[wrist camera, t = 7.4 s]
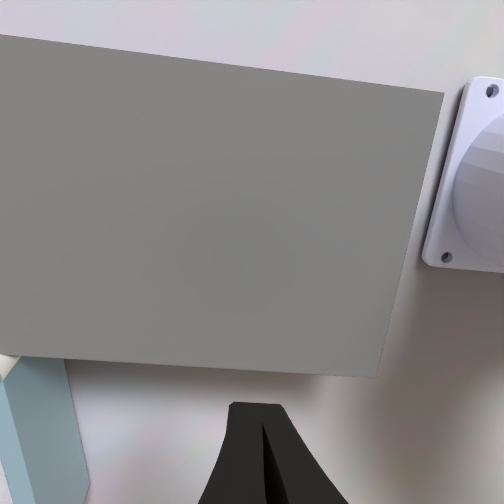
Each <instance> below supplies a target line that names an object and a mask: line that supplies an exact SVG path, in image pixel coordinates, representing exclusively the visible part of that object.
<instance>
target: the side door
mask: <svg viewBox="0 0 504 504" xmlns="http://www.w3.org/2000/svg"><path fill="white" fill-rule="evenodd" d="M0 459H1V463H2V466H3V470H4V473H5V477H6V480H7V483H8V487H9V490H10V494H11V497H12V501H13V504H84V501H85V498H86V495H87V491H88V488H89V485H90V481H89V476H88V471H87V467H86V462H85V457H84V453H83V448H82V443H81V439H80V434H79V429H78V425H77V420H76V415H75V410H74V406H73V401H72V396H71V392H70V387H69V382H68V378H67V373H66V368H65V364H64V359H63V358H48V357H33V356H17V355H1V354H0Z"/></svg>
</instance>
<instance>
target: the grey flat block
mask: <svg viewBox="0 0 504 504" xmlns="http://www.w3.org/2000/svg"><path fill="white" fill-rule="evenodd" d="M443 97H444V93H443V92H435V91H428V90H420V89H412V88H405V87H397V86H390V85H382V84H374V83H367V82H359V81H352V80H344V79H336V78H329V77H321V76H313V75H306V74H298V73H291V72H283V71H275V70H268V69H260V68H253V67H245V66H237V65H230V64H222V63H214V62H207V61H199V60H192V59H184V58H176V57H169V56H161V55H154V54H146V53H138V52H131V51H123V50H115V49H108V48H100V47H93V46H85V45H77V44H70V43H62V42H54V41H47V40H39V39H32V38H24V37H16V36H9V35H1V34H0V354H1V355H17V356H33V357H48V358H64V359H80V360H96V361H112V362H128V363H144V364H159V365H175V366H191V367H207V368H223V369H239V370H254V371H270V372H286V373H302V374H318V375H334V376H350V377H365V378H376V374H377V370H378V366H379V362H380V358H381V354H382V350H383V345H384V341H385V337H386V333H387V329H388V325H389V321H390V316H391V312H392V308H393V304H394V300H395V296H396V292H397V288H398V283H399V279H400V275H401V271H402V267H403V263H404V259H405V254H406V250H407V246H408V242H409V238H410V234H411V230H412V225H413V221H414V217H415V213H416V209H417V205H418V201H419V197H420V192H421V188H422V184H423V180H424V176H425V172H426V168H427V163H428V159H429V155H430V151H431V147H432V143H433V139H434V135H435V130H436V126H437V122H438V118H439V114H440V110H441V106H442V101H443Z"/></svg>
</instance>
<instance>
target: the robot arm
mask: <svg viewBox="0 0 504 504" xmlns="http://www.w3.org/2000/svg"><path fill="white" fill-rule="evenodd" d="M490 85H492V87H493V93H492V95H491V96H490V97H487V95H486V90H487V88H488V86H490ZM445 252H448V257H447V258H446V259H445V260H441V257H442V255H443V254H444V253H445ZM422 258H423V261H424V262H425V263H427V264H428V265H429V266H432V267H442V268H453V269H464V270H475V271H486V272H497V273H504V79H501V78H493V77H486V76H477V77H473V78H471V79H470V80H469V81H468V82H467V83H466V85H465V87H464V90H463V94H462V98H461V102H460V106H459V110H458V114H457V118H456V122H455V126H454V130H453V134H452V137H451V141H450V145H449V149H448V153H447V157H446V161H445V165H444V169H443V173H442V177H441V181H440V185H439V189H438V193H437V196H436V200H435V204H434V208H433V212H432V216H431V220H430V224H429V228H428V232H427V236H426V240H425V244H424V248H423V252H422ZM198 504H348V502H347V501H346V500H345V499H344V497H343V496H342V495H341V494H340V492H339V491H338V490H337V489H336V487H335V486H334V485H333V483H332V482H331V481H330V479H329V478H328V477H327V475H326V474H325V473H324V471H323V470H322V468H321V467H320V466H319V464H318V463H317V461H316V460H315V458H314V457H313V455H312V454H311V452H310V451H309V449H308V448H307V446H306V445H305V443H304V442H303V440H302V438H301V437H300V435H299V434H298V432H297V430H296V429H295V427H294V425H293V424H292V422H291V420H290V418H289V417H288V415H287V413H286V411H285V409H284V408H283V407H282V406H281V404H266V403H248V402H233V403H232V404H230V405H229V412H228V420H227V428H226V434H225V438H224V441H223V444H222V447H221V450H220V453H219V456H218V459H217V462H216V464H215V467H214V469H213V471H212V474H211V476H210V478H209V481H208V483H207V485H206V488H205V490H204V492H203V494H202V496H201V498H200V500H199V502H198Z"/></svg>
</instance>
